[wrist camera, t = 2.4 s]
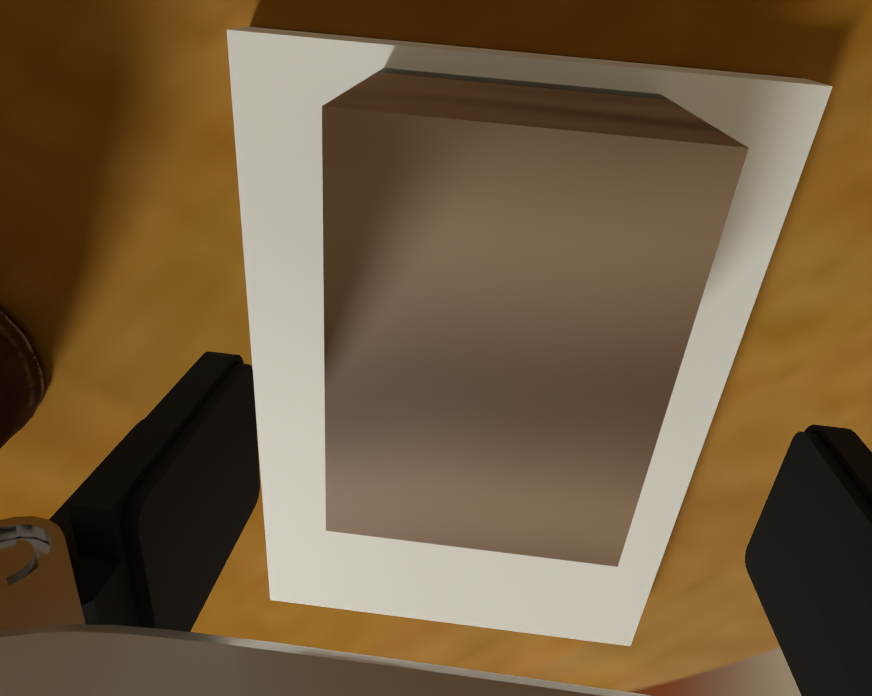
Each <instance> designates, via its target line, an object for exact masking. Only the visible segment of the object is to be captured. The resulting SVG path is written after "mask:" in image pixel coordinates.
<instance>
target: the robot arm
mask: <svg viewBox="0 0 872 696" xmlns="http://www.w3.org/2000/svg"><path fill="white" fill-rule="evenodd" d="M259 490H260V477H259V461H258V445H257V429H256V412H255V396H254V380H253V369H252V367H251V365H249V364H244V363H243V360H242V357H241V356H240V355H234V354H225V353H217V352H206V353H204V354H203V355H202V356H201V357H200V358H199V360H198V361H197V362H196V363H195V364H194V365H193V366H192V367H191V368H190V369H189V371H188V372H187V373H186V374H185V375H184V376H183V377H182V378H181V379H180V380H179V382H178V383H177V384H176V385H175V386H174V387H173V388H172V389H171V390H170V391H169V393H168V394H167V395H166V396H165V397H164V398H163V399H162V400H161V401H160V402H159V404H158V405H157V406H156V407H155V408H154V409H153V410H152V411H151V412H150V413H149V415H148V416H147V417H146V418H145V419H143V420H141V421H140V422H139V423H138V424H136V426H135V427H134V428H133V429H132V430H131V431H130V432H129V433H128V434H127V435H126V436H125V438H124V439H123V440H122V441H121V442H120V443H119V444H118V445H117V446H116V447H115V448H114V450H113V451H112V452H111V453H110V454H109V455H108V456H107V457H106V458H105V459H104V460H103V462H102V463H101V464H100V465H99V466H98V467H97V468H96V469H95V470H94V471H93V472H92V474H91V475H90V476H89V477H88V478H87V479H86V480H85V481H84V482H83V483H82V484H81V486H80V487H79V488H78V489H77V490H76V491H75V492H74V493H73V494H72V495H71V496H70V498H69V499H68V500H67V501H66V502H65V503H64V504H63V505H62V506H61V507H60V508H59V510H58V511H57V512H56V513H55V514H54V515H53V516H52V517H51V518H50V519H49V520H48V519H44V518H39V517H34V516H28V517H12V518H7V519H3V520H0V696H650V695H644V694H637V693H630V692H623V691H616V690H609V689H602V688H596V687H589V686H582V685H575V684H568V683H561V682H554V681H547V680H540V679H533V678H526V677H519V676H512V675H505V674H498V673H491V672H484V671H477V670H470V669H463V668H456V667H449V666H442V665H435V664H427V663H420V662H413V661H406V660H398V659H391V658H384V657H377V656H369V655H362V654H355V653H348V652H340V651H333V650H326V649H319V648H311V647H304V646H297V645H290V644H282V643H275V642H267V641H259V640H250V639H242V638H234V637H226V636H218V635H210V634H201V633H193V632H190V631H191V629H192V627H193V625H194V623H195V621H196V619H197V617H198V615H199V613H200V612H201V610H202V608H203V606H204V604H205V602H206V600H207V598H208V596H209V594H210V592H211V590H212V588H213V586H214V585H215V583H216V581H217V579H218V577H219V575H220V573H221V571H222V569H223V567H224V565H225V563H226V561H227V559H228V557H229V556H230V554H231V552H232V550H233V548H234V546H235V544H236V542H237V540H238V538H239V536H240V534H241V532H242V530H243V529H244V527H245V525H246V523H247V521H248V519H249V517H250V515H251V513H252V511H253V509H254V507H255V505H256V503H257V500H258V496H259ZM745 563H746V568H747V571H748V574H749V576H750V578H751V581H752V583H753V585H754V588H755V590H756V592H757V594H758V597H759V599H760V601H761V604H762V606H763V608H764V610H765V613H766V615H767V617H768V620H769V622H770V624H771V626H772V629H773V631H774V633H775V636H776V638H777V640H778V643H779V645H780V647H781V649H782V652H783V654H784V656H785V659H786V661H787V663H788V665H789V667H790V670H791V672H792V675H793V677H794V679H795V681H796V684H797V686H798V688H799V691H800V693H801V695H802V696H872V452H871V451H870V450H869V449H868V448H867V446H866V445H865V444H864V443H863V442H862V440H861V439H860V438H859V437H858V436H857V435H856V433H855V432H853V431H852V430H850V429H846V428H837V427H829V426H821V425H811V426H809V427H808V428H807V429H806V430H805V432H798V433H797V434H796V435H795V436H794V437H793V439H792V441H791V444H790V446H789V449H788V451H787V453H786V456H785V458H784V460H783V463H782V465H781V468H780V470H779V472H778V475H777V477H776V480H775V482H774V484H773V487H772V489H771V491H770V494H769V496H768V499H767V501H766V503H765V506H764V508H763V510H762V513H761V515H760V518H759V520H758V522H757V525H756V527H755V529H754V532H753V534H752V537H751V539H750V541H749V544H748V546H747V549H746V554H745Z"/></svg>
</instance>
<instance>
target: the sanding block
mask: <svg viewBox="0 0 872 696" xmlns="http://www.w3.org/2000/svg"><path fill="white" fill-rule="evenodd" d="M748 149H749V148H748V147H746V146H745V145H743V144H742V143H740V142H738V141H737V140H735V139H733V138H732V137H730V136H728V135H727V134H725V133H723V132H722V131H720V130H719V129H717V128H715V127H714V126H712V125H710V124H709V123H707V122H705V121H704V120H702V119H701V118H699V117H697V116H696V115H694V114H692V113H691V112H689V111H687V110H686V109H684V108H683V107H681V106H679V105H678V104H676V103H674V102H673V101H671V100H669V99H668V98H666V97H664V96H663V95H661V94H655V93H644V92H634V91H623V90H613V89H602V88H592V87H581V86H571V85H560V84H549V83H539V82H528V81H518V80H507V79H497V78H486V77H476V76H465V75H455V74H444V73H434V72H423V71H413V70H402V69H392V68H383V69H381V70H379V71H378V72H376V73H375V74H373V75H371V76H370V77H368V78H367V79H365V80H363V81H362V82H360V83H358V84H357V85H355V86H354V87H352V88H350V89H349V90H347V91H346V92H344V93H342V94H341V95H339V96H337V97H336V98H334V99H333V100H331V101H329V102H328V103H326V104H325V105H323V106H322V178H323V281H324V384H325V487H326V531H332V532H340V533H348V534H356V535H364V536H373V537H381V538H389V539H397V540H405V541H413V542H421V543H429V544H437V545H445V546H453V547H461V548H470V549H478V550H486V551H494V552H502V553H510V554H518V555H526V556H534V557H542V558H550V559H559V560H567V561H575V562H583V563H591V564H599V565H607V566H615V567H618V564H619V561H620V558H621V555H622V551H623V548H624V545H625V542H626V539H627V535H628V532H629V529H630V526H631V523H632V519H633V516H634V513H635V510H636V507H637V503H638V500H639V497H640V494H641V491H642V487H643V484H644V481H645V478H646V475H647V472H648V468H649V465H650V462H651V459H652V456H653V452H654V449H655V446H656V443H657V440H658V436H659V433H660V430H661V427H662V424H663V420H664V417H665V414H666V411H667V408H668V404H669V401H670V398H671V395H672V392H673V388H674V385H675V382H676V379H677V376H678V372H679V369H680V366H681V363H682V360H683V357H684V353H685V350H686V347H687V344H688V341H689V337H690V334H691V331H692V328H693V325H694V321H695V318H696V315H697V312H698V309H699V305H700V302H701V299H702V296H703V293H704V289H705V286H706V283H707V280H708V277H709V273H710V270H711V267H712V264H713V261H714V257H715V254H716V251H717V248H718V245H719V241H720V238H721V235H722V232H723V229H724V226H725V222H726V219H727V216H728V213H729V210H730V206H731V203H732V200H733V197H734V194H735V190H736V187H737V184H738V181H739V178H740V174H741V171H742V168H743V165H744V162H745V158H746V155H747V152H748Z"/></svg>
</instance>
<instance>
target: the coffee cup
mask: <svg viewBox="0 0 872 696" xmlns="http://www.w3.org/2000/svg"><path fill="white" fill-rule="evenodd" d="M43 392H44V380H43V374H42V370H41V368H40V365H39V363H38V360H37V358H36V356H35V354H34V352H33V350H32V348H31V346H30V344H29V342H28V340H27V338H26V337H25V335H24V334H23V333H22V332H21V331H20V329H19V328H18V327H17V326H16V325H15V324H14V323H13V322H12V321H11V320H10V319H9V318H8V317H7V316H6V315H5V314H4V313H3V312H1V311H0V448H1V447H2V446H3V445H4V444H5V443H6V442H7V441H8V440H9V439H10V438H11V437H12V436H13V435H14V434H15V433H17V432H18V431H19V430H20V429H22V428H23V426H24V425H25V424H26V423H27V422H28V421H29V420H30V419H31V417H32V416H33V415H34V413H35V411H36V409H37V407H38V405H39V403H40V400H41V398H42V396H43Z"/></svg>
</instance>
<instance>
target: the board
mask: <svg viewBox="0 0 872 696" xmlns="http://www.w3.org/2000/svg"><path fill="white" fill-rule="evenodd" d="M227 41H228V54H229V67H230V80H231V93H232V106H233V119H234V132H235V145H236V158H237V171H238V184H239V197H240V210H241V223H242V236H243V249H244V262H245V275H246V289H247V302H248V315H249V328H250V341H251V354H252V367H253V380H254V393H255V406H256V419H257V432H258V445H259V458H260V471H261V484H262V497H263V510H264V523H265V537H266V550H267V563H268V576H269V589H270V600H276V601H283V602H291V603H299V604H307V605H314V606H322V607H330V608H338V609H346V610H353V611H361V612H369V613H377V614H384V615H392V616H400V617H408V618H415V619H423V620H431V621H439V622H446V623H454V624H462V625H470V626H477V627H485V628H493V629H501V630H509V631H516V632H524V633H532V634H540V635H547V636H555V637H563V638H571V639H578V640H586V641H594V642H602V643H609V644H617V645H625V646H631V643H632V640H633V637H634V635H635V632H636V629H637V626H638V624H639V621H640V618H641V615H642V613H643V610H644V607H645V604H646V601H647V599H648V596H649V593H650V590H651V588H652V585H653V582H654V579H655V577H656V574H657V571H658V568H659V566H660V563H661V560H662V557H663V554H664V552H665V549H666V546H667V543H668V541H669V538H670V535H671V532H672V530H673V527H674V524H675V521H676V519H677V516H678V513H679V510H680V507H681V505H682V502H683V499H684V496H685V494H686V491H687V488H688V485H689V483H690V480H691V477H692V474H693V472H694V469H695V466H696V463H697V460H698V458H699V455H700V452H701V449H702V447H703V444H704V441H705V438H706V436H707V433H708V430H709V427H710V425H711V422H712V419H713V416H714V413H715V411H716V408H717V405H718V402H719V400H720V397H721V394H722V391H723V389H724V386H725V383H726V380H727V378H728V375H729V372H730V369H731V366H732V364H733V361H734V358H735V355H736V353H737V350H738V347H739V344H740V342H741V339H742V336H743V333H744V331H745V328H746V325H747V322H748V319H749V317H750V314H751V311H752V308H753V306H754V303H755V300H756V297H757V295H758V292H759V289H760V286H761V284H762V281H763V278H764V275H765V272H766V270H767V267H768V264H769V261H770V259H771V256H772V253H773V250H774V248H775V245H776V242H777V239H778V237H779V234H780V231H781V228H782V225H783V223H784V220H785V217H786V214H787V212H788V209H789V206H790V203H791V201H792V198H793V195H794V192H795V190H796V187H797V184H798V181H799V178H800V176H801V173H802V170H803V167H804V165H805V162H806V159H807V156H808V154H809V151H810V148H811V145H812V143H813V140H814V137H815V134H816V131H817V129H818V126H819V123H820V120H821V118H822V115H823V112H824V109H825V107H826V104H827V101H828V98H829V96H830V93H831V90H832V87H833V86H830V85H826V84H823V83H819V82H815V81H812V80H808V79H804V78H793V77H783V76H772V75H761V74H751V73H740V72H729V71H718V70H708V69H697V68H686V67H676V66H665V65H654V64H643V63H633V62H622V61H611V60H601V59H590V58H579V57H568V56H558V55H547V54H536V53H526V52H515V51H504V50H493V49H483V48H472V47H461V46H451V45H440V44H429V43H418V42H408V41H397V40H386V39H376V38H365V37H354V36H343V35H333V34H322V33H311V32H301V31H290V30H279V29H268V28H258V27H242V28H235V29H228V30H227ZM383 68H392V69H402V70H413V71H423V72H434V73H444V74H455V75H465V76H476V77H486V78H497V79H507V80H518V81H528V82H539V83H549V84H560V85H571V86H581V87H592V88H602V89H613V90H623V91H634V92H644V93H655V94H661V95H663V96H664V97H666V98H668V99H669V100H671V101H673V102H674V103H676V104H678V105H679V106H681V107H683V108H684V109H686V110H687V111H689V112H691V113H692V114H694V115H696V116H697V117H699V118H701V119H702V120H704V121H705V122H707V123H709V124H710V125H712V126H714V127H715V128H717V129H719V130H720V131H722V132H723V133H725V134H727V135H728V136H730V137H732V138H733V139H735V140H737V141H738V142H740V143H742V144H743V145H745V146H746V147H748V148H749V149H748V152H747V155H746V158H745V162H744V165H743V168H742V171H741V174H740V178H739V181H738V184H737V187H736V190H735V194H734V197H733V200H732V203H731V206H730V210H729V213H728V216H727V219H726V222H725V226H724V229H723V232H722V235H721V238H720V241H719V245H718V248H717V251H716V254H715V257H714V261H713V264H712V267H711V270H710V273H709V277H708V280H707V283H706V286H705V289H704V293H703V296H702V299H701V302H700V305H699V309H698V312H697V315H696V318H695V321H694V325H693V328H692V331H691V334H690V337H689V341H688V344H687V347H686V350H685V353H684V357H683V360H682V363H681V366H680V369H679V372H678V376H677V379H676V382H675V385H674V388H673V392H672V395H671V398H670V401H669V404H668V408H667V411H666V414H665V417H664V420H663V424H662V427H661V430H660V433H659V436H658V440H657V443H656V446H655V449H654V452H653V456H652V459H651V462H650V465H649V468H648V472H647V475H646V478H645V481H644V484H643V487H642V491H641V494H640V497H639V500H638V503H637V507H636V510H635V513H634V516H633V519H632V523H631V526H630V529H629V532H628V535H627V539H626V542H625V545H624V548H623V551H622V555H621V558H620V561H619V564H618V567H615V566H607V565H599V564H591V563H583V562H575V561H567V560H559V559H550V558H542V557H534V556H526V555H518V554H510V553H502V552H494V551H486V550H478V549H470V548H461V547H453V546H445V545H437V544H429V543H421V542H413V541H405V540H397V539H389V538H381V537H373V536H364V535H356V534H348V533H340V532H332V531H326V487H325V384H324V281H323V178H322V106H323V105H325V104H326V103H328V102H329V101H331V100H333V99H334V98H336V97H337V96H339V95H341V94H342V93H344V92H346V91H347V90H349V89H350V88H352V87H354V86H355V85H357V84H358V83H360V82H362V81H363V80H365V79H367V78H368V77H370V76H371V75H373V74H375V73H376V72H378V71H379V70H381V69H383Z"/></svg>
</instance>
